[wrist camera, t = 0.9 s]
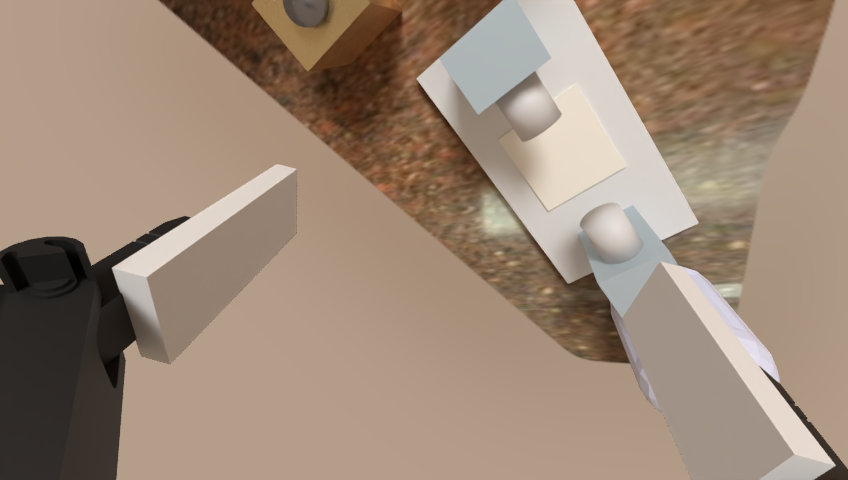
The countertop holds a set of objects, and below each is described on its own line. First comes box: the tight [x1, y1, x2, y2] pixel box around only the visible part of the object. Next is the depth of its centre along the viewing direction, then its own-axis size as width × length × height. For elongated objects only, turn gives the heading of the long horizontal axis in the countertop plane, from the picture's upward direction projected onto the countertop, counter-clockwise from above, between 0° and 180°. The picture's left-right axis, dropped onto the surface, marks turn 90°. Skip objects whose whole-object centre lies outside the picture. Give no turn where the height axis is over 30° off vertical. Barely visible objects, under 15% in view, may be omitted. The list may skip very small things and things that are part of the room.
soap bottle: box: [610, 266, 780, 412], centre depth 26 cm, size 9×9×25 cm
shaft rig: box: [417, 0, 699, 318], centre depth 27 cm, size 24×12×9 cm, turn 39°
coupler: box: [252, 0, 402, 72], centre depth 25 cm, size 5×6×9 cm
